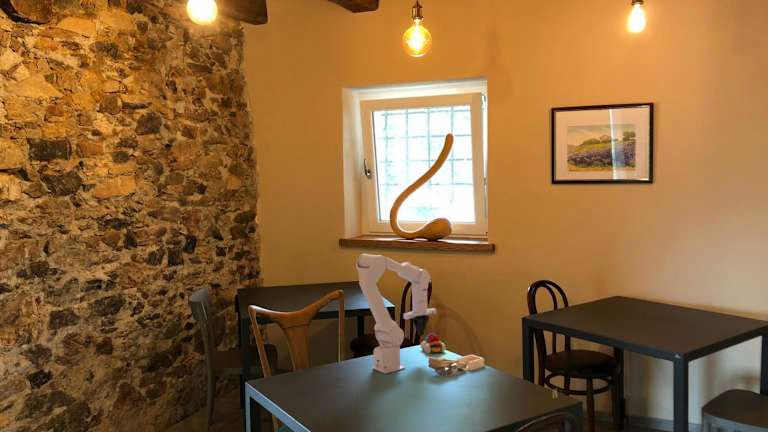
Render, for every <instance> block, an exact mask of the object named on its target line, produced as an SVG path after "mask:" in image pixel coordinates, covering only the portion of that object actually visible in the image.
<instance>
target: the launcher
mask: <svg viewBox="0 0 768 432" xmlns="http://www.w3.org/2000/svg"><path fill="white" fill-rule="evenodd" d="M427 362H428V368H430V369H433V370H434V371H435V370H442V371H445V367H449V368H450V365H451V364H455V363H456V364H457V368H465V369H466V367H467V363H458V362H459V361H458V360H457V359H446V358H443V357H435V358H434V357H428V361H427Z"/></svg>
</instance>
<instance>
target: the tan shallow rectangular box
mask: <svg viewBox="0 0 768 432" xmlns="http://www.w3.org/2000/svg"><path fill="white" fill-rule="evenodd" d="M471 356H476V357H477V358H478V359H477V360H474V361H470V362H469V359H470V357H471ZM456 360H458V361H459V362H458V363H467V367H466V369H465V368H457V370H459V371H460V370H461V371H464V372H467V371H473V370H476V369H480V368H484V367H485V358H483V357H481V356H477V355H475V354H468V355H464V356H461V357H458V358H457V359H456Z"/></svg>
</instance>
